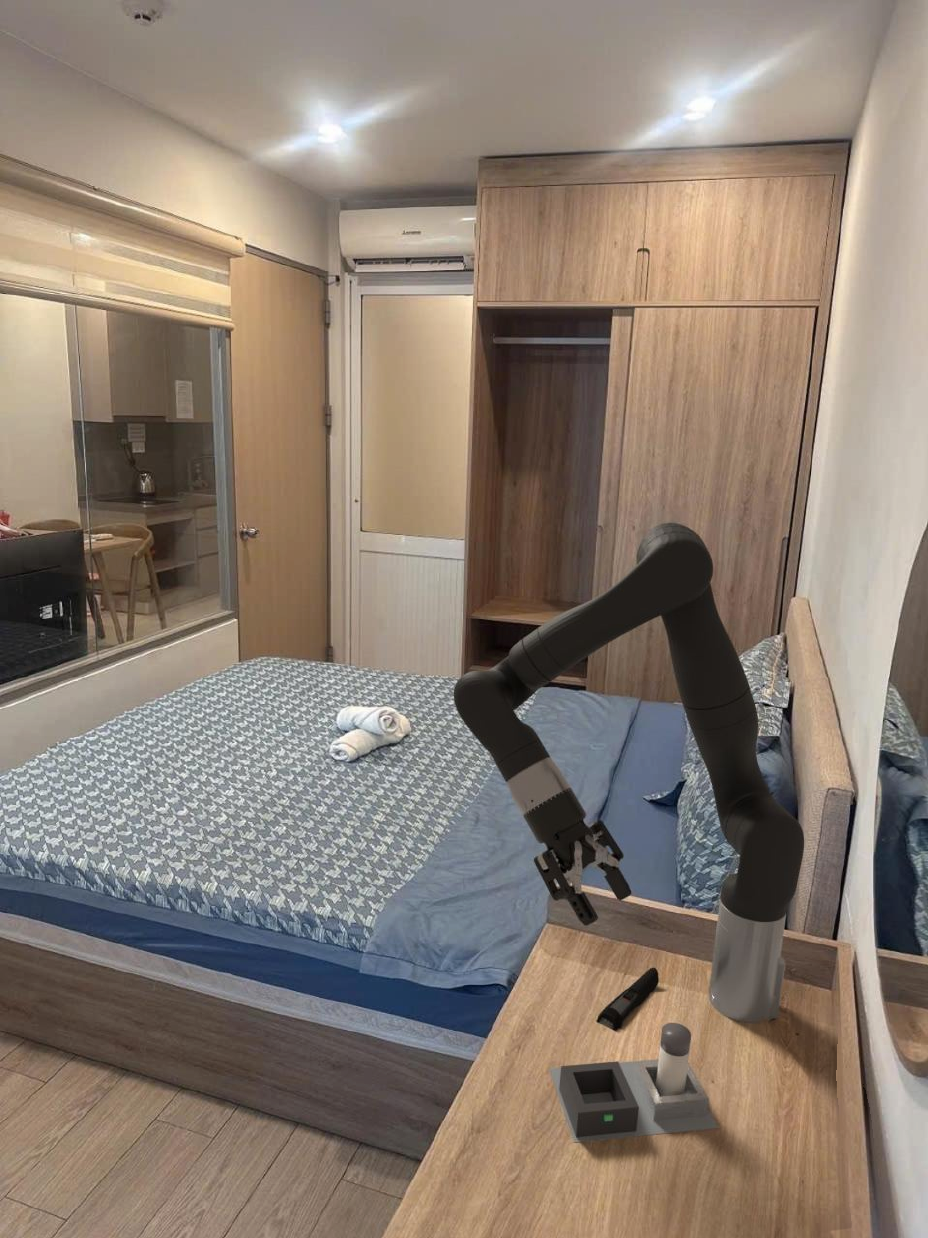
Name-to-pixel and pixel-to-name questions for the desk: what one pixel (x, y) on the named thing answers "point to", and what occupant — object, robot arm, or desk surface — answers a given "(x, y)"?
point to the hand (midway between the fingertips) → (609, 909)
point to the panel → (644, 1117)
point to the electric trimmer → (629, 1000)
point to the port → (598, 1115)
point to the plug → (673, 1060)
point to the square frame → (670, 1105)
